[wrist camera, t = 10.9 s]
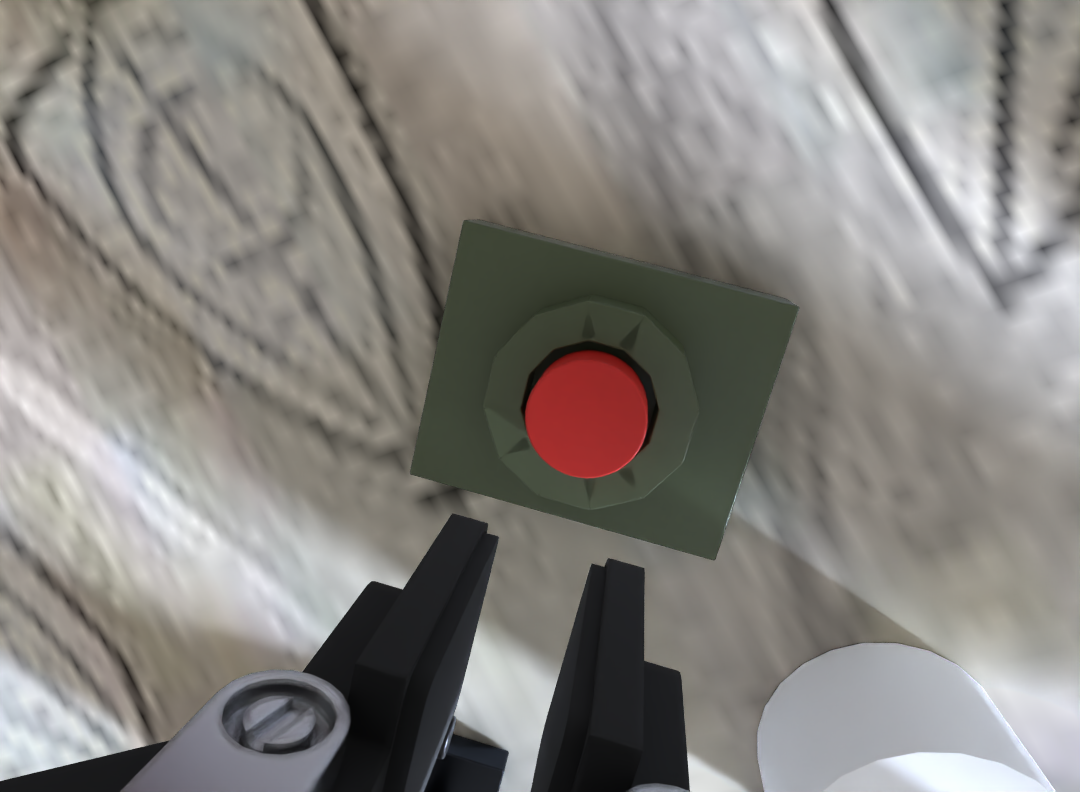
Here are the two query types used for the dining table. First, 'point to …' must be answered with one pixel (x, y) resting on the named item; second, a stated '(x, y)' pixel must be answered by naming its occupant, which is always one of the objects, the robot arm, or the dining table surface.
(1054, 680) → the dining table surface
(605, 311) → the button housing
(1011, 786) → the cylinder with rectangular tab
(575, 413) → the red button
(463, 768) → the switch bracket
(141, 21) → the dining table surface
